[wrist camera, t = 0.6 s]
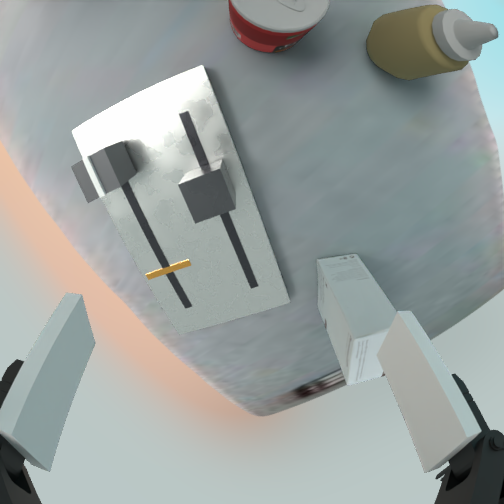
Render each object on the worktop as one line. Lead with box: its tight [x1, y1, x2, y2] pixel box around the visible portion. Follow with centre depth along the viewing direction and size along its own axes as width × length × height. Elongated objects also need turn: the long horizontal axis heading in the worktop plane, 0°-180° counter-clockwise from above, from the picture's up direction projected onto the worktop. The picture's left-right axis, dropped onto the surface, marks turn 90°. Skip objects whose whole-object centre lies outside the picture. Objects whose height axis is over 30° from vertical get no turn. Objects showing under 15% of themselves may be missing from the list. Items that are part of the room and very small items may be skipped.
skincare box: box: [316, 254, 397, 386], centre depth 34 cm, size 8×6×15 cm
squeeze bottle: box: [366, 5, 498, 80], centre depth 19 cm, size 8×8×18 cm
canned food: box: [228, 0, 330, 52], centre depth 21 cm, size 8×8×11 cm
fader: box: [72, 141, 137, 203], centre depth 27 cm, size 4×4×5 cm
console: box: [72, 65, 290, 335], centre depth 32 cm, size 30×16×8 cm, turn 19°
